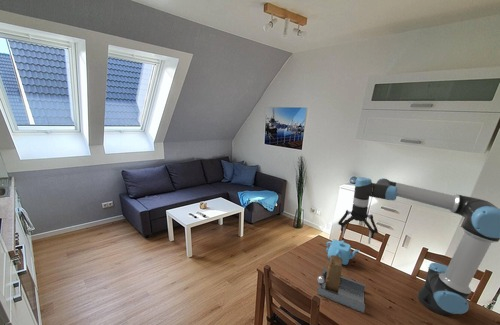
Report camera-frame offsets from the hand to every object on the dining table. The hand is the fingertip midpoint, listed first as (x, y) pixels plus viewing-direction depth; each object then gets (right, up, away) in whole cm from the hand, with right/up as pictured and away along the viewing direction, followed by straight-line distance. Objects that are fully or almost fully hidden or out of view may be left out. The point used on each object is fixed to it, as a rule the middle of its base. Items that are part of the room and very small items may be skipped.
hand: (355, 239), depth 122 cm
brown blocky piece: (-13, -30, +2) cm, 33 cm away
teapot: (+4, -26, +29) cm, 39 cm away
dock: (-9, -31, 0) cm, 32 cm away
